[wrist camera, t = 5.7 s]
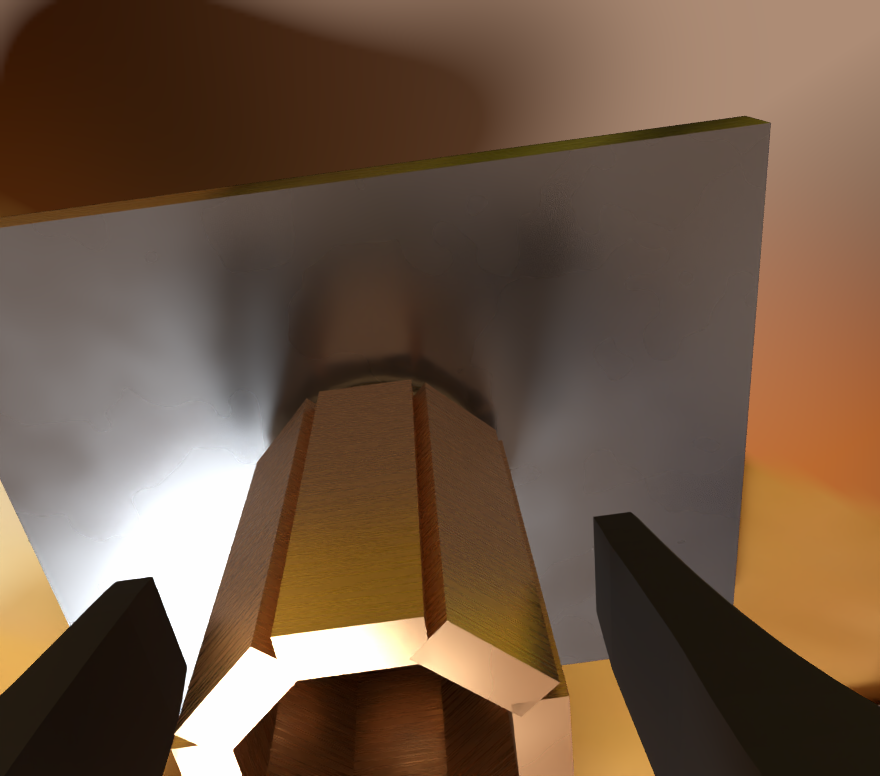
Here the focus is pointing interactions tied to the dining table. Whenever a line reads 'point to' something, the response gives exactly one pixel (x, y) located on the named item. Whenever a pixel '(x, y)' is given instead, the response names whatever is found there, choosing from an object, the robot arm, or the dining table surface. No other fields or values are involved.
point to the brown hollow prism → (379, 607)
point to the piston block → (391, 351)
